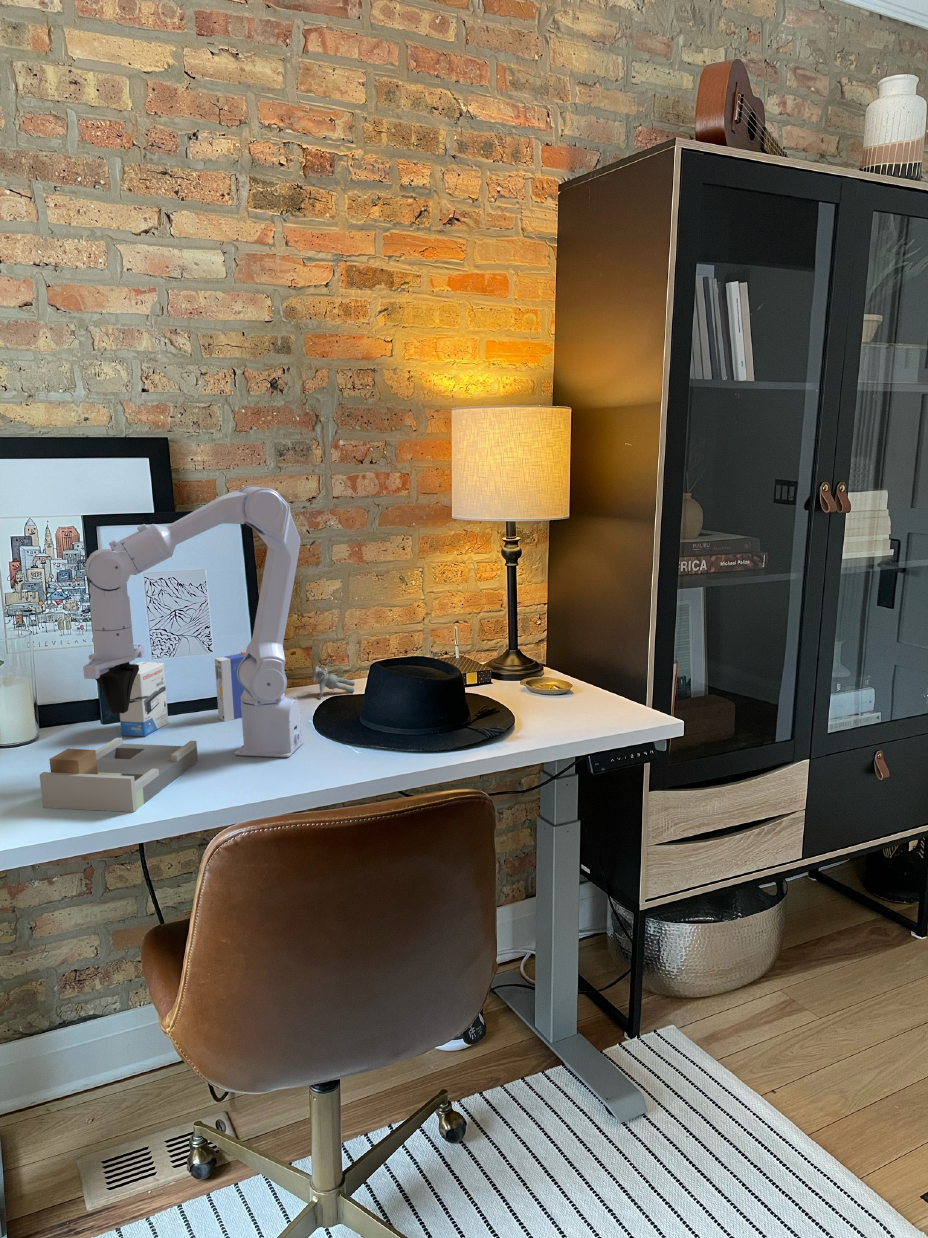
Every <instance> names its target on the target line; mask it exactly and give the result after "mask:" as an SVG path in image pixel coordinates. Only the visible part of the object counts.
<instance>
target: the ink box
mask: <svg viewBox="0 0 928 1238" xmlns="http://www.w3.org/2000/svg"><path fill="white" fill-rule="evenodd" d="M135 664H137V665H139V671H138V673H137V675H136V677H135V680H134V683H133V686H132V690H131V696H130V702H129V708H128V711H127V712H125V713H119V720H120V734H121V736H127V737H128V736H129V737H130V736H131V737H133V736H134V737H146V736H148V735H150V734H152V733H153V732H155V731H157V730H158V729H160V728H162V727H164V726H165V725H167V724H169V716H168V702H167V688H166V674H165V663H164V662H153V661H139V662H136V663H135Z"/></svg>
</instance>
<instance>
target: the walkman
mask: <svg viewBox="0 0 928 1238" xmlns="http://www.w3.org/2000/svg"><path fill="white" fill-rule="evenodd" d="M245 654H246V650H244V651H240V653H236V654H230V655H225V656H221V657H215V658H214V667H215V683H216V697H217V712H218V713H217V714H218V715H217V716H218V719H219V720H221V721H223V722H228V721H232V720H237V719H240V718H241V719H242V711H241V695H242V694H243V691H244V687H243V686H242V685H241V684H240V682H239V681H238V678H237V669H238V666H239V664H240V663H241V661H242V660H243V659H244V657H245Z"/></svg>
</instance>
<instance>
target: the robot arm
mask: <svg viewBox="0 0 928 1238" xmlns="http://www.w3.org/2000/svg"><path fill="white" fill-rule="evenodd" d="M291 513H292V512H291V506H290V504H288V502H287V501H286V500H285V499H284V497H282V496H281V494H280V493H279V492H277V491H276V490H274V489H273V488H268V487H260V486H256V485H247V486H244V487H241V489H239V490H238V491H237V490H236V491H231V492H228V493H226V494H224V495H221V496H220V497H217V498H215V499H214V500H212V501H209V502H208V503H207V504H205V505H203V506H200V507H199V508H197V509H195V510H194V511H192V512H190V513H188V514H186V515H184V516H182V517H181V518H179V519H178V520H175V521H174V522H172V523H171V524H168V525H166V526H162V525H159V524H155V523H152V524H150V525H148V526H147V525H146V524H145V523H143V524H141V525H139V526H137V529H136V530H138V531H136V532H133V533H132V534H130V535H128V536H126V537H125V538H123V539H120V540H118V541H117V540H115V539H114V540H112V541H110V542H108V545H109V546H110V548H100V549H99V548H98V549H97V550H94V551H93V552H92V553H90V555H89V557H88V558H87V559H86V562H85V567H84V568H83V569H84V573H85V574H86V577H87V578H88V579H89V581H91V582H89V587H88V590H89V594H90V598H89V607H90V619H91V628H92V629H91V630H92V636H93V637H92V639H93V648H94V653H91V654H89V655H88V660H89V661H88V663H87V664H85V665H83V666H82V667H83V677H84V679H85V680H87V679H89V680H90V679H91V680H95V681H96V683H97V684H98V685H99V686H100V688H101V690H102V692H103V694H104V696H105V698H106V701H107V703H108V706H109V709H110V712H111V713H112V714H120V713H125V712H127V711H128V708H129V702H130V696H131V690H132V686H133V683H134V680H135V677H136V675H137V673H138V671H139V665H137V664H136V663H131V662H133V661H135V660H136V659H139V658H144V657H145V647H144V644H134V636H133V627H132V626H133V624H132V613H131V611H132V610H131V600H130V596H129V594H128V582H129V579H130V577H131V576H137V575H139V574H141V573H143V572H144V571H147V570H149V569H150V568H152V567H155V566H156V565H158V564H160V563H162V562H164V561H166V560H169V559H170V558H172V556H174V553H175V552H174V551H175V549H176V546H177V545H179V544H181V543H183V542H185V541H187V540H189V539H192V538H194V537H196V536H198V535H200V534H203V533H205V532H206V531H209V530H211V529H213V528H215V527H217V526H219V525H223V524H233V525H235V524H237V525H245V524H246V525H247V526H248V527H250V528H252V529H253V530H254V531H255V532H256V533H257V535H258V536H259V538H261V540H262V541H263V542H264V543H265V544H266V546H267V550H266V551H267V552H266V557H265V562H264V567H263V574H262V579H261V580H262V581H261V584H260V589H259V590H260V591H259V595H258V596H259V597H258V603H257V604H258V605H257V609H256V614H255V620H254V627H253V632H252V638H251V640H250V641H249V643H248V645H247V646H246V650H245V651H246V654H245V657H244V659H243V660H242V661H241V663H240V664H239V666H238V669H237V678H238V681H239V682H240V684H241V685H242V686H243V687H244V691H243V694H242V695H241V711H242V717H241V724H242V738H243V739H242V740H243V745H242V746H241V747H239V748H238V749H237V750H236V751H235V752H234V755H235V756H247V757H248V756H249V757H250V756H251V757H252V756H253V757H274V758H289V757H291V755H293V754H294V753H295V752H296V751H297V750H298V749H299V747H301V746H302V744H304V739H303V730H302V729H303V727H302V712H301V710H302V709H301V706H300V703H299V700H297V699H291V698H289V697H286V696H285V695H286V694H285V691H286V689H287V685H288V679H287V676H286V672H285V664H286V658H285V652H284V651H285V650H284V647H283V646H284V639H285V633H286V629H287V628H286V627H287V622H288V617H289V616H288V615H289V611H290V606H291V599H292V594H293V588H294V583H295V576H296V571H297V565H298V560H299V554H300V548H301V537H300V534H299V531H298V529H297V526H296V524H295V522H294V518H293V516H292V514H291Z"/></svg>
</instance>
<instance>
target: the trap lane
mask: <svg viewBox="0 0 928 1238" xmlns="http://www.w3.org/2000/svg"><path fill="white" fill-rule="evenodd" d="M123 741H124V740H123V737H115V738H114V739H112V740H110V741H109V742H107V743H105V744H104V745H102V746H101V747H99V748H97V749H96V760H97V770H98V775H97V774H75V773H54V772H51V771H49V772H48V771H43V772H41V773H39V774H38V775H39V780H40V783H39V784H40V791H41V800H42V808H47V809H48V808H49V809H53V808H54V809H64V810H65V809H67V810H68V809H69V810H83V811H84V810H88V811H103V812H106V811H107V812H122V813H123V812H124V813H125V812H126V813H127V812H128V813H134V812H136V811H137V810H138V809H139V808H141V807H143V805H144V804H146V803H147V802H148V801H150V800H151V799H152V798H153V797H155V796H156V795H158V793H160V792H161V791H162V790H164V789H165V788H166V787H167V786H169V785H170V784H172V782H174V781H175V780H176V779H178V778H179V777H180V776H181V775H183V773H185V772H186V771H188V770H189V769H190V768H192V766H194V765H195V764H196V763H197V762H199V759H198V757H199V756H198V746H197V743H198V742H197V740H190V741H188V742H186V744H184V745H168V744H167V745H166V744H165V745H162V744H142V743H141V744H138V743H137V744H135V743H124V742H123Z"/></svg>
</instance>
